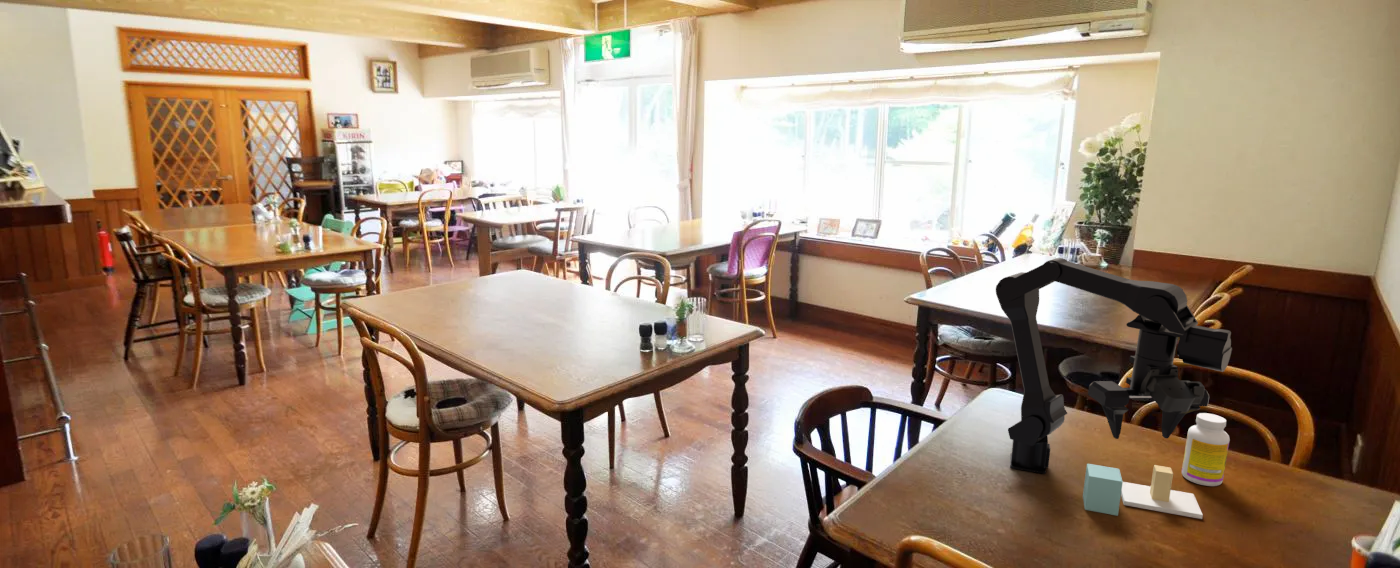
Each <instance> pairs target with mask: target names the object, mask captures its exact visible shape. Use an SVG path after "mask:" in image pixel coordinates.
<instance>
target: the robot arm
mask: <svg viewBox="0 0 1400 568" xmlns="http://www.w3.org/2000/svg"><path fill="white" fill-rule="evenodd" d="M1054 282H1055V283H1059V284H1063V285H1065V286H1069V287H1072V288H1075V289H1078V290H1082V291H1085V292H1086V293H1087V292H1088V293H1089V294H1095V295H1096V296H1100V297H1103V298H1106V299H1109V300H1113V301H1116V302H1118V303H1120V304H1122V305H1124V306H1125V307H1127V308H1128V309H1129V310H1131V311H1132V312H1134V313H1136V314H1138V315H1137V316H1136V317H1135V318H1134V319H1132V320H1130V321H1128V322H1126V327H1128V328H1132V329H1137V330H1138V337H1137V344H1136V348H1135V354H1134V355H1130V356H1129V361H1128V362H1129V363H1131V364H1133V367H1132V373H1131V377H1130V376H1129V377H1128V376H1127V377H1125V378H1126V379H1125V384H1127V385H1129V387H1122V386H1121V385H1120V384H1118V383H1116V382H1115V381H1112V380H1106V381H1105V380H1103V381H1101V380H1099V381H1098V380H1096V381H1095V380H1094V381H1092V382H1091V383H1090V384H1089V386H1088V392H1087V396H1089V397H1090V398H1092V399H1093V400H1094V401H1096V402H1098V404H1100V405H1101V407H1102V409H1103V412H1104V414H1105V417H1106V419H1107V423H1108V425H1109V429H1110V432H1111V434H1112V437H1113V438H1114V439H1115V440H1119V438H1120V436H1121V431H1122V427H1123V426H1122V425H1123V420H1124V415H1125V413H1127V412H1128V411H1129V410H1130V409H1129V408H1128V407H1127V405H1128V404H1130V403H1129V402H1130V400H1131V399H1137V400H1139V399H1143V400H1144V399H1153V401H1154V402H1155V403H1156V405H1158V408H1159V409H1160V410H1161V411H1162V413H1161V416H1162V417H1161V436H1162V437H1163V438H1164V439H1169V438H1170V436H1171V435H1172V433H1173V432H1174V430H1176V428H1177V426H1178V425H1179V423H1180V422H1181V420H1183V418H1184V417H1185V416H1186V415H1187V414H1189V413H1192V412H1194V411H1199V410H1200V409H1201V407H1208V405H1209V400H1210V394H1209V393H1208V390H1207V389H1205V386H1204V385H1203V383H1202V382H1201V381H1190V380H1180V379H1179V367H1178V366H1177V365H1175V364H1174V360H1175V359H1174V358H1175V355H1176V356H1178V359H1179V360H1182V363H1183V364H1186V365H1189V366H1190V365H1192V366H1194V367H1195V366H1196V367H1200V368H1204V369H1209V370H1214V371H1217V372H1222V373H1223V372H1225V370H1226V369H1227V367H1228V365H1229V362H1230V359H1231V355H1232V351H1233V347H1232V346H1231V345H1232V339H1231V335H1232V332H1231V330H1228V329H1222V328H1218V329H1217V328H1211V327H1205V326H1201V325H1198V324H1199V322H1198V320H1197V318H1196V317H1195V315H1194V314H1193V312H1192V311H1191V309H1190V307H1189V306H1188V305H1187V304H1188V297H1187V294H1186V293H1185V291H1184V289H1183V288H1181V287H1180V286H1179V285H1176V284H1173V283H1167V282H1159V281H1152V280H1151V281H1148V280H1134V279H1129V278H1126V277H1123V276H1118V275H1117V274H1113V273H1108V272H1105V271H1102V270H1099V269H1096V268H1093V267H1089V266H1085V265H1082V264H1079V263H1075V262H1072V261H1069V260H1067V259H1065V258H1063V257H1062V258H1061V257H1057V258H1056V257H1055V258H1053V259H1050V260H1047V261H1045V262H1044V263H1043V264H1042V265H1040V266H1037V267H1035V268H1034V269H1031V270H1029V271H1027V272H1018V273H1016V274H1012V275H1009V276H1005V277H1003V278H1002V279H1000V280H999V282H998V283H997V284H996V286H995V294H996V298H997V300H998V303H999V305H1000V308H1001V310H1002V311H1003V312H1004V314H1005V316H1006V317H1007V318H1008V320H1009V321H1010V324H1011V329H1012V330H1011V331H1012V335H1013V340H1014V345H1015V351H1016V355H1017V361H1018V364H1019V365H1018V367H1019V372H1020V376H1021V381H1022V386H1023V397H1022V401H1021V404H1020V417H1021V418H1020V421H1018V422H1017V423H1014V424H1013V425H1012V426H1010V427H1008V428H1007V433H1008V437H1009V439H1010V440H1011V441H1012V445H1011V453H1010V461H1009V468H1011V469H1015V470H1020V471H1026V472H1031V473H1037V474H1046V472H1047V470H1046V469H1047V468H1049V464H1050V457H1051V456H1050V454H1051V444H1050V443H1049V439H1048V438H1049V437H1048V435H1049V436H1050V435H1051V434H1052V433H1054V431H1056V430H1058V429H1059V428H1061V426H1062V425H1063V424H1064V422H1065V416H1066V415H1068V412H1067V410H1066V407H1065V402H1064V401H1065V398H1064V394H1061V393H1060V394H1055V392H1054V391H1053V389H1052V387H1051V386H1050V382H1049V376H1048V371H1047V367H1046V361H1045V355H1044V352H1043V345H1042V342H1041V336H1040V331H1039V326H1038V321H1037V313H1038V309H1039V305H1040V290H1041V289H1043V288H1044V287H1047V286H1049V285H1051V284H1053V283H1054ZM1178 339H1179V340H1178ZM1177 343H1178V344H1177Z"/></svg>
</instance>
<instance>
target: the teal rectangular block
mask: <svg viewBox="0 0 1400 568" xmlns="http://www.w3.org/2000/svg"><path fill="white" fill-rule="evenodd" d="M1084 475H1085V476H1084V484H1083V490H1082V491H1083V492H1082V500H1083V506H1084V510H1085V511H1091V512H1095V513H1100V514H1101V513H1102V514H1106V515H1107V514H1108V515H1112V516H1117V517H1118V516H1119V509H1120V503H1121V498H1122V496H1121V490H1122V483H1123V482H1124V481H1123V479H1122V478H1123V477H1122V475H1121V470H1120V468H1116V467H1112V466H1111V467H1109V466H1104V465H1099V464H1093V463H1086V468H1085V474H1084Z"/></svg>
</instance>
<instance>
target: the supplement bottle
mask: <svg viewBox="0 0 1400 568" xmlns="http://www.w3.org/2000/svg"><path fill="white" fill-rule="evenodd" d="M1195 423H1196V424H1194V425H1191V426H1190V427H1189V428H1188V431H1187V436H1186V440H1185V441H1186V442H1185V448H1184V455H1183V460H1182V461H1183V462H1182V465H1181V475H1182V476H1183V477H1184V479H1186V480H1188V481H1190V482H1191V483H1193V484H1197V485H1201V486H1207V487H1218V486H1220V485H1221V484H1222V483H1223V482H1224V476H1225V475H1224V474H1225V469H1226V465H1227V464H1226V463H1227V459H1228V452H1229V451H1228V450H1229V447H1230V441H1231V439H1230V435H1229V434H1228V433H1227V432H1226V431H1225V430H1224V429H1225V428H1226V427H1227V419H1226V418H1224V417H1222V416H1220V415H1217V414H1214V413H1207V412H1199V413H1197V414H1196V419H1195Z"/></svg>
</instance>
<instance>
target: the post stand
mask: <svg viewBox="0 0 1400 568" xmlns="http://www.w3.org/2000/svg"><path fill="white" fill-rule="evenodd" d="M1151 475H1152V476H1151V483H1150V485H1144V484H1139V483H1133V482H1127V481H1123V483H1122V490H1121V501H1122V503H1123V505H1124V506H1128V507H1133V508H1139V509H1144V510H1150V511H1156V512H1161V513H1165V514H1172V515H1178V516H1183V517H1188V518H1193V519H1199V520H1203V517H1204V516H1203V512H1202V510H1201V508H1200V506H1199V503H1198V501H1197V498H1196V496H1195V494H1194V493H1191V492H1184V491H1180V490H1174V489H1172V483H1173V478H1174V477H1173V476H1174V472H1173V470H1172V468H1171V467H1170V466H1169V467H1168V466H1163V465H1157V464H1153V469H1152V474H1151Z"/></svg>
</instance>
